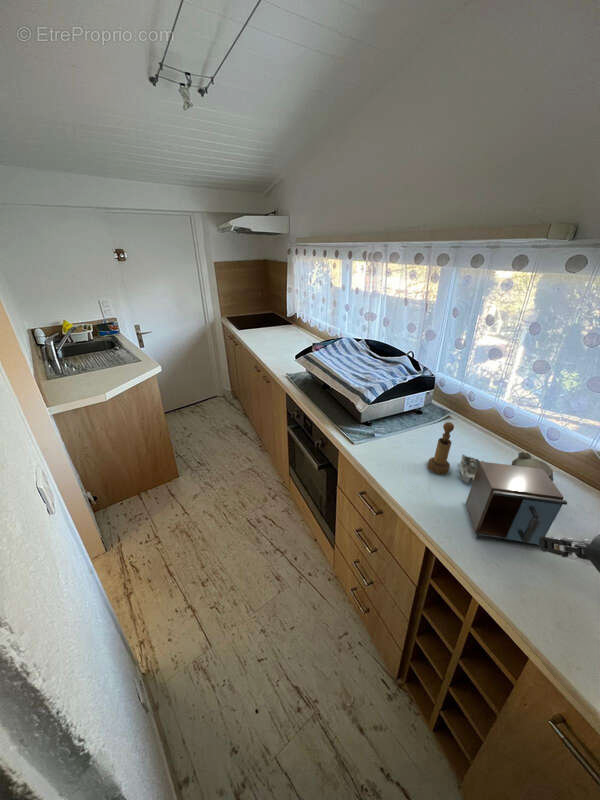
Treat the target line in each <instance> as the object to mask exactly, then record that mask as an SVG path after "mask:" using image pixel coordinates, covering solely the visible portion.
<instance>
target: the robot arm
mask: <svg viewBox="0 0 600 800" xmlns="http://www.w3.org/2000/svg"><path fill="white" fill-rule="evenodd" d="M572 543H575V544H574V546H573V545H572ZM539 546H540V548H539V550H540V551H542V553H543V552H544V553H548V554H549V553H550V554H553V555H555V556H556V555H557V556H560V557H561V558H566V559H569V560H572V561H576V562H577V561H578V562H581V563H584V564H586V565H588V566H593V567H594V568H595V570H596V571H597V572H598V573H599V574H600V533H599V534H597V535H596V536H595V537H594V538H593V539H587V538H583V539H577V538H572V537H566V536H564V537H562V538H556V537H554V536H539Z"/></svg>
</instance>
